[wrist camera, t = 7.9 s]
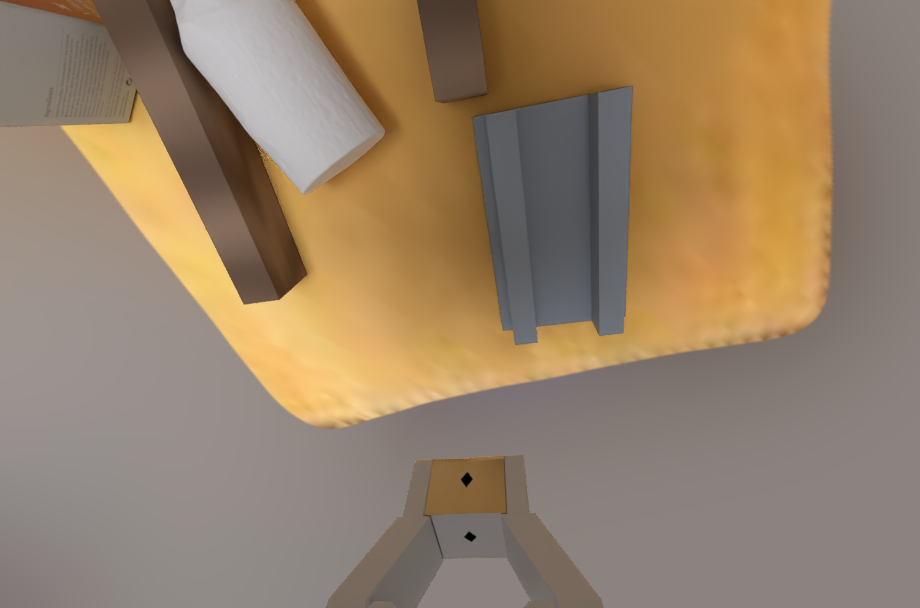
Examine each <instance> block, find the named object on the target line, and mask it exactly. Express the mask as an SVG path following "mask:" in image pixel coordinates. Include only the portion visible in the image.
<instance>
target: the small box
mask: <svg viewBox="0 0 920 608" xmlns="http://www.w3.org/2000/svg"><path fill="white" fill-rule="evenodd" d="M135 92H136V87H135V85H134V83H133V81H132V79H131V77H130V75H129V73H128V71H127V69H126V67H125V65H124V63H123V61H122V59H121V57H120V55H119V53H118V51H117V49H116V47H115V45H114V43H113V41H112V39H111V37H110V35H109V33H108V31H107V29H106V27H105V25H104V23H103V21H102V19H101V17H100V15H99V13H98V11H97V9H96V7H95V5H94V3H93V1H92V0H0V127H25V126H54V125H55V126H57V125H90V124H117V123H128V122H129V119H130V114H131V110H132V105H133V101H134V96H135Z"/></svg>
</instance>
